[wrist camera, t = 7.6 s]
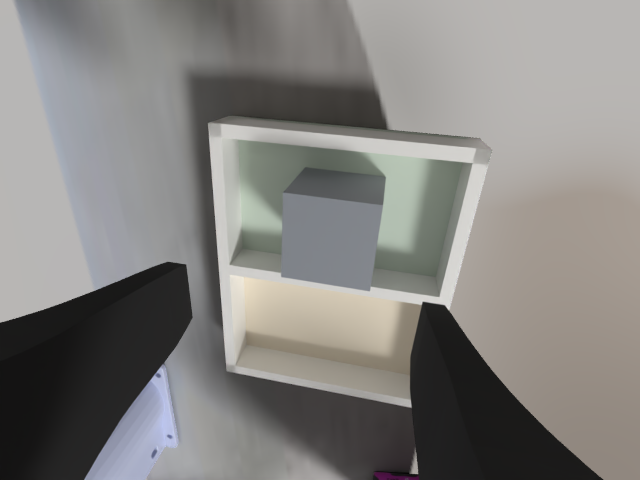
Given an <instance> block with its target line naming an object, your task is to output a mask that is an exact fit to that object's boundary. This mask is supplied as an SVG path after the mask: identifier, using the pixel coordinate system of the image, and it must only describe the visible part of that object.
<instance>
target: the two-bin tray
mask: <svg viewBox="0 0 640 480" xmlns="http://www.w3.org/2000/svg"><path fill="white" fill-rule="evenodd" d="M208 130H209V143H210V157H211V170H212V183H213V197H214V210H215V223H216V236H217V250H218V263H219V276H220V290H221V303H222V316H223V330H224V343H225V356H226V370H227V371H228V372H233V373H238V374H243V375H248V376H253V377H258V378H264V379H269V380H274V381H279V382H284V383H289V384H294V385H299V386H304V387H309V388H314V389H319V390H324V391H329V392H334V393H339V394H345V395H350V396H355V397H360V398H365V399H370V400H375V401H380V402H385V403H390V404H395V405H400V406H405V407H410V408H412V406H411V396H410V356H411V351H412V347H413V342H414V338H415V333H416V329H417V324H418V320H419V316H420V311H421V307H422V302H429V303H435V304H441V305H445V306H446V307H447V309H448V310H449V309H450V305H451V302H452V298H453V294H454V291H455V287H456V283H457V279H458V276H459V271H460V268H461V265H462V261H463V257H464V253H465V250H466V245H467V242H468V238H469V235H470V231H471V227H472V224H473V220H474V216H475V212H476V209H477V205H478V201H479V198H480V194H481V190H482V186H483V183H484V179H485V175H486V171H487V168H488V164H489V160H490V157H491V153H492V149H491V148H490V147H489V146H487V145H486V144H485V143H484V142H483V141H482V140H481V139H480V138H471V137H460V136H448V135H439V134H427V133H417V132H405V131H394V130H384V129H373V128H363V127H352V126H341V125H330V124H319V123H308V122H298V121H287V120H276V119H265V118H254V117H243V116H232V115H230V116H227V117H224V118H221V119H218V120H214V121H211V122H208ZM305 167H308V168H316V169H325V170H333V171H342V172H350V173H359V174H367V175H376V176H384V177H386V182H385V192H384V202H383V210H382V216H381V223H380V229H379V236H378V242H377V249H376V255H375V262H374V268H373V275H372V281H371V288H370V291H364V290H358V289H352V288H346V287H340V286H333V285H327V284H321V283H315V282H309V281H303V280H296V279H290V278H284V277H281V257H282V212H283V192H284V191H285V190H286V188H287V187H288V186H289V185H290V184H291V183H292V182H293V180H294V179H295V178H296V177H297V176H298V175H299V174H300V173H301V171H302V170H303V169H304V168H305Z"/></svg>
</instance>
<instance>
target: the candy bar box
mask: <svg viewBox="0 0 640 480" xmlns="http://www.w3.org/2000/svg"><path fill="white" fill-rule="evenodd" d="M373 480H419V474H402V473H386V472H374V475H373Z"/></svg>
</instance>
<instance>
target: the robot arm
mask: <svg viewBox="0 0 640 480" xmlns="http://www.w3.org/2000/svg"><path fill="white" fill-rule="evenodd" d="M192 318H193V317H192V309H191V301H190V293H189V284H188V276H187V268H186V265H185V264H179V263H172V262H166V263H163V264H160V265H157V266H154V267H152V268H149V269H147V270H144V271H142V272H139V273H137V274H134V275H132V276H130V277H127V278H125V279H122V280H120V281H118V282H115V283H113V284H110V285H108V286H105V287H103V288H101V289H98V290H96V291H93V292H90V293H88V294H85V295H83V296H80V297H77V298H75V299H72V300H69V301H67V302H64V303H62V304H59V305H56V306H53V307H50V308H47V309H44V310H41V311H38V312H35V313H32V314H28V315H25V316H22V317H19V318H16V319H12V320H9V321H5V322H1V323H0V480H145V479H146V477H147V476H148V474H149V472H150V471H151V469H152V467H153V466H154V464H155V462H156V461H157V459H158V457H159V456H160V454H161V453H162V451H163V449H164V448H165V446H166V447H171V448H175V447H176V446H177V445H178V443H179V441H178V435H177V430H176V424H175V418H174V412H173V407H172V401H171V395H170V390H169V384H168V378H167V373H166V368H165V365H164V364H163V363H164V362H165V360H166V359H167V358H168V357H169V355H170V354H171V353H172V351H173V350H174V348H175V347H176V346H177V344H178V343H179V341H180V339H181V337H182V336H183V334H184V332H185V330H186V329H187V327H188V325H189V323H190V321H191V319H192ZM410 396H411V406H412V416H413V425H414V435H415V444H416V453H417V462H418V474H419V480H603V479H602V478H601V477H599V476H598V475H597V474H596V473H595V472H594V471H592V470H591V469H590V468H589V467H588V466H586V465H585V464H584V463H583V462H582V461H581V460H580V459H579V458H577V457H576V456H575V455H574V454H573V453H572V452H571V451H570V450H568V449H567V448H566V447H565V446H564V445H563V444H562V443H561V442H559V441H558V440H557V439H556V438H555V437H554V436H553V435H552V434H551V433H550V432H549V431H548V430H547V429H546V428H545V427H544V426H543V425H542V424H541V423H540V422H539V421H538V420H537V419H536V418H535V417H534V416H533V415H532V414H531V413H530V412H529V411H528V410H527V409H526V408H525V407H524V406H523V405H522V404H521V403H520V402H519V401H518V400H517V399H516V398H515V396H514V395H513V394H512V393H511V392H510V391H509V390H508V389H507V388H506V386H505V385H504V384H503V383H502V382H501V380H500V379H499V378H498V377H497V376H496V375H495V374H494V372H493V371H492V370H491V369H490V367H489V366H488V365H487V363H486V362H485V361H484V360H483V358H482V357H481V355H480V354H479V353H478V351H477V350H476V349H475V347H474V346H473V345H472V343H471V342H470V341H469V339H468V338H467V336H466V335H465V333H464V332H463V331H462V329H461V328H460V327H459V325H458V323H457V322H456V320H455V319H454V317H453V316H452V314H451V313H450V311H449V310H448V309H447V307H446V306H445V305H441V304H435V303H429V302H422V307H421V311H420V316H419V320H418V324H417V329H416V333H415V338H414V342H413V347H412V351H411V356H410Z"/></svg>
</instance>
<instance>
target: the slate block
mask: <svg viewBox="0 0 640 480" xmlns="http://www.w3.org/2000/svg"><path fill="white" fill-rule="evenodd" d="M385 182H386V177H384V176H376V175H367V174H359V173H350V172H342V171H333V170H325V169H316V168H308V167H305V168H304V169H303V170H302V171H301V173H300V174H299V175H298V176H297V177H296V178H295V179H294V180H293V182H292V183H291V184H290V185H289V186H288V187H287V188H286V190H285V191H284V192H283V212H282V257H281V277H284V278H290V279H296V280H303V281H309V282H315V283H321V284H327V285H333V286H340V287H346V288H352V289H358V290H364V291H370V288H371V281H372V275H373V268H374V262H375V255H376V249H377V242H378V236H379V229H380V223H381V216H382V210H383V202H384V192H385Z"/></svg>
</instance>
